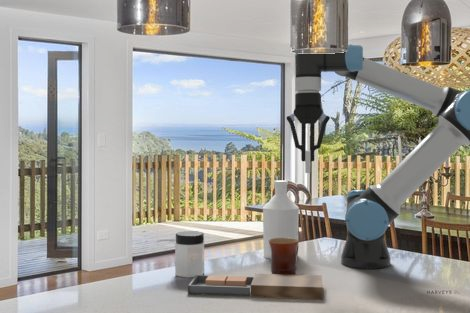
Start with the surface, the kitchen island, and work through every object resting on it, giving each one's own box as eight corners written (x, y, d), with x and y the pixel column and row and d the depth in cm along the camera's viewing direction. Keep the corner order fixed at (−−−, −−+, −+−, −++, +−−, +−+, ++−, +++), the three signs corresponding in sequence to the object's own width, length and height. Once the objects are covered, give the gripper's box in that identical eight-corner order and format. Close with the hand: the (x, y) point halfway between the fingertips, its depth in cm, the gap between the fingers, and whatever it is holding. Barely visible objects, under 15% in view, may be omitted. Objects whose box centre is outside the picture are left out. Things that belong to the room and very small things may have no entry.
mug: (289, 281, 167) (289, 244, 166) (262, 276, 172) (262, 241, 171) (309, 272, 177) (309, 238, 176) (284, 268, 182) (284, 234, 181)
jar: (180, 279, 169) (179, 237, 169) (170, 272, 177) (170, 232, 176) (209, 275, 173) (209, 234, 172) (199, 269, 180) (199, 230, 180)
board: (321, 286, 161) (321, 275, 161) (322, 299, 149) (322, 287, 149) (255, 284, 163) (255, 273, 163) (250, 296, 152) (250, 285, 151)
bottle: (300, 252, 204) (300, 179, 203) (296, 260, 192) (296, 183, 191) (266, 251, 207) (266, 179, 205) (259, 258, 195) (259, 182, 194)
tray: (253, 284, 163) (253, 276, 163) (249, 296, 152) (249, 287, 152) (196, 282, 165) (196, 275, 165) (187, 294, 154) (187, 285, 154)
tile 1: (208, 275, 161) (208, 284, 162) (205, 280, 156) (205, 289, 157) (227, 275, 161) (227, 285, 161) (224, 280, 156) (224, 290, 156)
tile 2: (247, 285, 160) (247, 276, 160) (245, 290, 155) (245, 281, 155) (228, 285, 161) (228, 275, 161) (226, 290, 156) (226, 280, 156)
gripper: (330, 93, 179) (329, 171, 180) (286, 93, 180) (286, 171, 182) (331, 91, 171) (330, 173, 172) (285, 91, 173) (285, 173, 174)
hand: (307, 172), depth 177 cm, fingers closed
